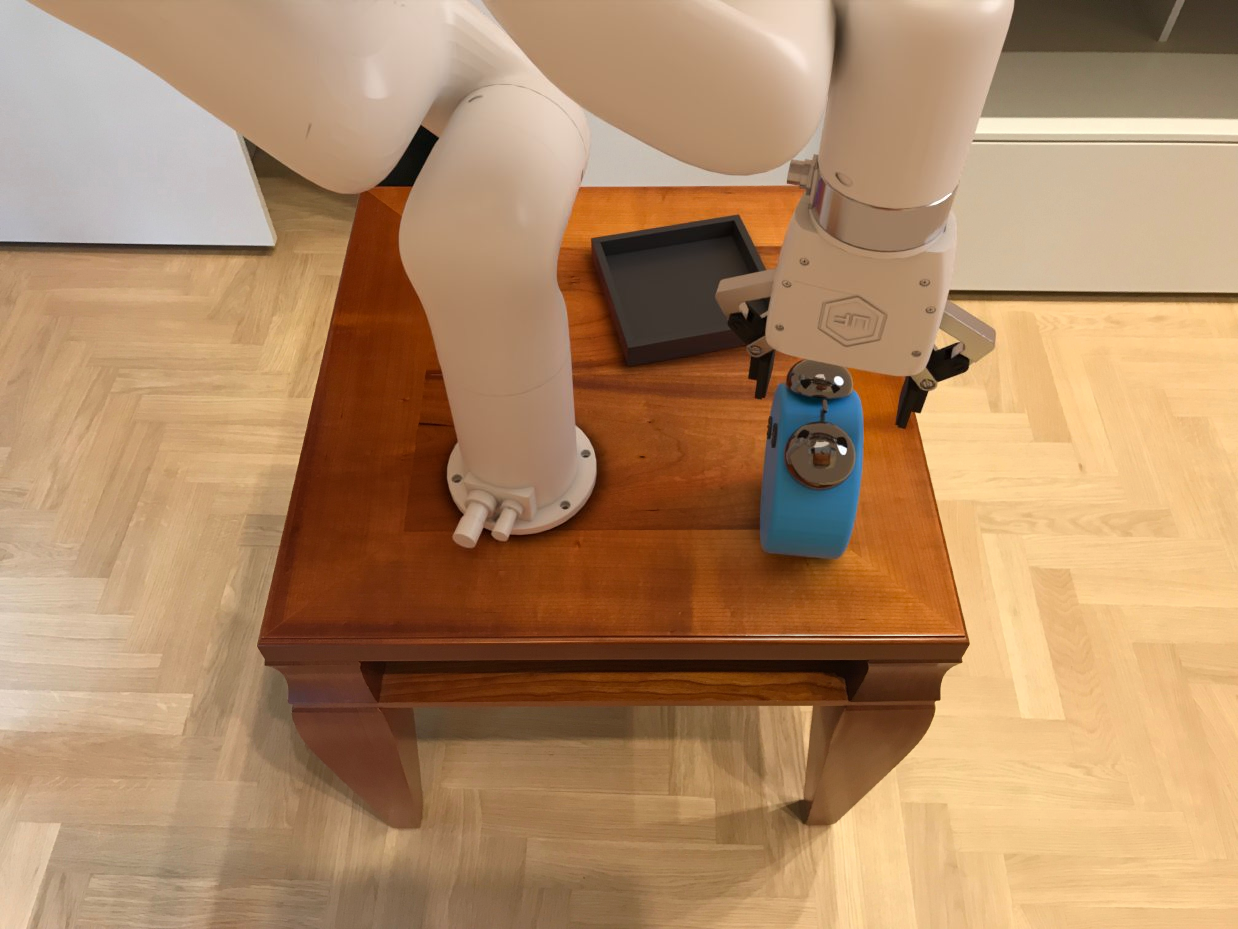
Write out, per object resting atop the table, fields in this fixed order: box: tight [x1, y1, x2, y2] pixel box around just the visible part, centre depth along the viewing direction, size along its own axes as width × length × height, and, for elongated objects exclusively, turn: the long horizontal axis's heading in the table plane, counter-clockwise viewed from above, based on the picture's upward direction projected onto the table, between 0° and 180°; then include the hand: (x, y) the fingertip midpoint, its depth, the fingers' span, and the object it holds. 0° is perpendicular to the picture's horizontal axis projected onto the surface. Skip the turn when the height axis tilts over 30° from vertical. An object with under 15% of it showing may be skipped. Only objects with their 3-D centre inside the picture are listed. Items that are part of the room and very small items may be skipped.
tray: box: [590, 213, 770, 368], centre depth 92 cm, size 16×16×3 cm
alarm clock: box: [759, 358, 865, 560], centre depth 72 cm, size 13×6×15 cm, turn 173°
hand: (831, 398), depth 65 cm, fingers open, 9 cm apart
